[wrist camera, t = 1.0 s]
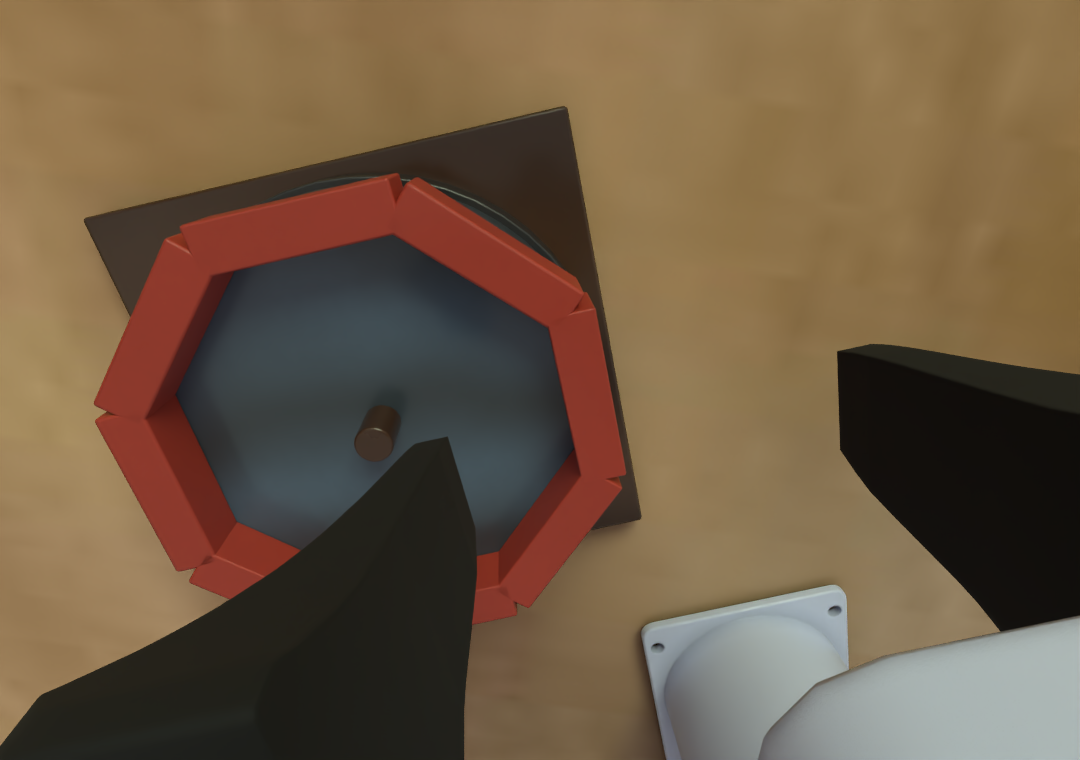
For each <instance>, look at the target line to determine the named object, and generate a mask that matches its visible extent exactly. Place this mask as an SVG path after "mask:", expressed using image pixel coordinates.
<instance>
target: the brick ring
mask: <svg viewBox="0 0 1080 760" xmlns="http://www.w3.org/2000/svg"><path fill="white" fill-rule="evenodd" d="M180 231H181V233H180V234H177V235H174V236H171V237H168V238H166V239H165V240H164V241H163V244H162V246H161V248H160V250H159V253H158V255H157V257H156V260H155V262H154V264H153V267H152V269H151V271H150V274H149V276H148V278H147V281H146V283H145V285H144V288H143V290H142V292H141V294H140V297H139V299H138V301H137V304H136V306H135V308H134V311H133V313H132V315H131V318H130V320H129V322H128V325H127V327H126V329H125V331H124V334H123V336H122V338H121V341H120V343H119V345H118V348H117V350H116V352H115V355H114V357H113V359H112V362H111V364H110V366H109V368H108V371H107V373H106V375H105V378H104V380H103V382H102V385H101V387H100V389H99V392H98V394H97V396H96V399H95V401H94V405H95V406H97V407H99V408H101V409H103V410H105V411H107V412H106V413H104V414H103V415H102V416H100V417H99V418H97V419H96V420H95V423H96V425H97V427H98V429H99V430H100V432H101V434H102V436H103V438H104V440H105V441H106V443H107V445H108V447H109V449H110V450H111V452H112V454H113V456H114V458H115V460H116V461H117V463H118V465H119V467H120V469H121V471H122V472H123V474H124V476H125V478H126V480H127V482H128V483H129V485H130V487H131V489H132V491H133V492H134V494H135V496H136V498H137V500H138V502H139V503H140V505H141V507H142V509H143V511H144V513H145V514H146V516H147V518H148V520H149V522H150V524H151V525H152V527H153V529H154V531H155V533H156V534H157V536H158V538H159V540H160V542H161V544H162V545H163V547H164V549H165V551H166V553H167V555H168V556H169V558H170V560H171V562H172V564H173V565H174V567H175V569H176V571H184V570H189V569H193V568H196V569H195V571H194V573H193V574H192V576H191V578H190V580H189V582H190V583H191V584H194V585H196V586H199V587H201V588H203V589H206V590H208V591H211V592H213V593H216V594H218V595H220V596H223V597H225V598H228V599H231V598H233V597H234V596H236V595H238V594H239V593H241V592H242V591H244V590H245V589H247V588H248V587H250V586H251V585H253V584H254V583H256V582H258V581H259V580H261V579H262V578H264V577H265V576H267V575H268V574H270V573H271V572H273V571H274V570H275V569H277V568H278V567H280V566H281V565H282V564H284V563H285V562H286V561H288V560H289V559H290V558H292V557H293V556H294V555H296V554H297V553H298V552H300V551H301V550H299V549H297V548H295V547H293V546H290V545H288V544H286V543H284V542H281V541H279V540H277V539H275V538H273V537H270V536H268V535H266V534H264V533H261V532H259V531H257V530H255V529H252V528H250V527H248V526H246V525H243V524H241V523H239V522H237V521H236V519H235V517H234V515H233V513H232V511H231V509H230V507H229V505H228V502H227V500H226V498H225V496H224V494H223V492H222V490H221V488H220V486H219V484H218V482H217V480H216V478H215V476H214V474H213V471H212V469H211V467H210V465H209V463H208V461H207V459H206V457H205V455H204V453H203V451H202V449H201V447H200V445H199V442H198V440H197V438H196V436H195V434H194V432H193V430H192V428H191V426H190V424H189V422H188V420H187V418H186V416H185V413H184V411H183V409H182V407H181V405H180V403H179V401H178V399H177V397H176V395H175V394H176V392H177V390H178V388H179V386H180V384H181V382H182V380H183V377H184V375H185V373H186V371H187V369H188V367H189V365H190V363H191V361H192V359H193V357H194V354H195V352H196V350H197V348H198V346H199V344H200V342H201V340H202V338H203V336H204V334H205V331H206V329H207V327H208V325H209V323H210V321H211V319H212V317H213V315H214V313H215V311H216V308H217V306H218V304H219V302H220V300H221V298H222V296H223V294H224V292H225V290H226V287H227V285H228V283H229V281H230V279H231V277H232V275H233V273H234V271H238V270H242V269H246V268H251V267H255V266H259V265H264V264H268V263H273V262H277V261H281V260H286V259H290V258H294V257H299V256H303V255H307V254H312V253H316V252H320V251H325V250H329V249H333V248H338V247H342V246H346V245H351V244H355V243H360V242H364V241H368V240H373V239H377V238H381V237H386V236H390V235H394V236H396V237H397V238H399V239H401V240H402V241H404V242H406V243H407V244H409V245H411V246H412V247H414V248H416V249H417V250H419V251H421V252H422V253H424V254H426V255H427V256H429V257H431V258H432V259H434V260H436V261H437V262H439V263H440V264H442V265H444V266H445V267H447V268H449V269H450V270H452V271H454V272H455V273H457V274H459V275H460V276H462V277H464V278H465V279H467V280H469V281H470V282H472V283H474V284H475V285H477V286H479V287H480V288H482V289H484V290H485V291H487V292H489V293H490V294H492V295H493V296H495V297H497V298H498V299H500V300H502V301H503V302H505V303H507V304H508V305H510V306H512V307H513V308H515V309H517V310H518V311H520V312H522V313H523V314H525V315H527V316H528V317H530V318H532V319H533V320H535V321H537V322H538V323H540V324H542V325H543V326H545V327H547V328H548V332H549V336H550V341H551V345H552V350H553V354H554V359H555V363H556V368H557V372H558V377H559V381H560V386H561V391H562V395H563V400H564V404H565V409H566V413H567V418H568V422H569V427H570V431H571V436H572V440H573V445H574V450H573V451H572V452H571V454H570V455H569V456H568V458H567V459H566V461H565V462H564V463H563V465H562V466H561V467H560V469H559V470H558V471H557V473H556V474H555V476H554V477H553V478H552V480H551V481H550V482H549V484H548V485H547V486H546V488H545V489H544V491H543V492H542V493H541V495H540V496H539V497H538V499H537V500H536V501H535V503H534V504H533V506H532V507H531V508H530V510H529V511H528V512H527V514H526V515H525V516H524V518H523V519H522V521H521V522H520V523H519V525H518V526H517V527H516V529H515V530H514V531H513V533H512V534H511V536H510V537H509V538H508V540H507V541H506V542H505V544H504V545H503V546H502V548H501V549H500V551H498V552H493V553H488V554H484V555H479V556H477V582H476V592H475V602H474V612H473V621H472V625H474V624H479V623H483V622H488V621H493V620H497V619H502V618H507V617H512V616H516V615H517V603H518V604H521V605H523V606H525V607H527V608H529V607H530V606H531V605H532V604H533V602H534V601H535V600H536V598H537V597H538V596H539V595H540V593H541V592H542V591H543V589H544V588H545V587H546V586H547V584H548V583H549V582H550V580H551V579H552V578H553V577H554V575H555V574H556V573H557V572H558V570H559V569H560V568H561V566H562V565H563V564H564V563H565V561H566V560H567V559H568V557H569V556H570V555H571V554H572V552H573V551H574V550H575V549H576V547H577V546H578V545H579V543H580V542H581V541H582V540H583V538H584V537H585V536H586V534H587V533H588V532H589V531H590V529H591V528H592V527H593V525H594V524H595V523H596V522H597V520H598V519H599V518H600V517H601V515H602V514H603V513H604V511H605V510H606V509H607V508H608V506H609V505H610V504H611V502H612V501H613V500H614V499H615V497H616V496H617V495H618V493H619V492H620V491H621V490H622V486H621V483H620V480H619V476H623V475H626V469H625V463H624V458H623V452H622V447H621V442H620V436H619V431H618V426H617V420H616V415H615V410H614V404H613V399H612V394H611V388H610V383H609V378H608V372H607V367H606V362H605V356H604V351H603V346H602V340H601V335H600V330H599V324H598V319H597V314H596V309H595V307H594V305H593V303H592V301H591V299H590V297H589V295H588V293H587V292H583V290H582V288H581V286H580V284H579V282H578V280H577V278H576V277H574V276H573V275H571V274H570V273H568V272H567V271H565V270H563V269H562V268H560V267H559V266H557V265H556V264H554V263H552V262H551V261H549V260H548V259H546V258H545V257H543V256H541V255H540V254H538V253H537V252H535V251H534V250H532V249H530V248H529V247H527V246H526V245H524V244H523V243H521V242H519V241H518V240H516V239H515V238H513V237H512V236H510V235H508V234H507V233H505V232H504V231H502V230H501V229H499V228H497V227H496V226H494V225H493V224H491V223H490V222H488V221H486V220H485V219H483V218H482V217H480V216H479V215H477V214H475V213H474V212H472V211H471V210H469V209H468V208H466V207H464V206H463V205H461V204H460V203H458V202H457V201H455V200H453V199H452V198H450V197H449V196H447V195H446V194H444V193H442V192H441V191H439V190H438V189H436V188H435V187H433V186H431V185H430V184H428V183H427V182H425V181H424V180H422V179H420V178H418V177H416V178H414V179H412V180H411V181H409V182H408V183H406V184H405V186H404V188H403V186H402V182H401V179H400V175H399V174H398V173H393V174H389V175H384V176H380V177H376V178H371V179H367V180H363V181H358V182H354V183H350V184H346V185H341V186H337V187H333V188H328V189H324V190H320V191H315V192H311V193H307V194H303V195H298V196H294V197H290V198H285V199H281V200H277V201H272V202H268V203H264V204H260V205H255V206H251V207H247V208H242V209H238V210H234V211H229V212H225V213H221V214H217V215H212V216H209V217H205V218H202V219H199V220H196V221H193V222H189V223H186V224H183V225H181V226H180Z"/></svg>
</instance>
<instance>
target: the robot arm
mask: <svg viewBox="0 0 1080 760" xmlns="http://www.w3.org/2000/svg"><path fill="white" fill-rule="evenodd" d="M837 360H838V392H839V425H840V450H841V452H842V453H843V455H844V456H845V457H846V459H847V460H848V462H849V463H850V465H851V466H852V468H853V469H854V471H855V472H856V473H857V475H858V476H859V477H860V479H861V480H862V481H863V483H864V484H865V485H866V487H867V488H868V489H869V491H870V492H871V493H872V494H873V495H874V496H875V497H876V498H877V499H878V500H879V501H880V502H881V503H882V505H883V506H884V507H885V508H886V509H887V510H888V511H889V512H890V513H891V514H892V515H893V516H894V517H895V518H896V519H897V520H898V521H899V522H900V523H901V524H902V525H903V526H904V527H905V528H906V529H907V530H908V531H909V532H910V533H911V534H912V535H913V536H914V537H915V538H916V539H917V540H918V541H919V542H920V543H921V544H922V545H923V546H924V547H925V548H926V549H927V550H928V551H929V552H930V553H931V554H932V555H933V556H934V557H935V558H936V559H937V560H938V561H939V562H940V564H941V565H942V566H943V567H944V568H945V569H946V570H947V571H948V572H949V573H950V574H951V575H952V576H953V577H954V578H955V579H956V580H957V581H958V582H959V583H960V584H961V585H962V586H963V587H964V588H965V589H966V591H967V592H968V593H969V594H970V595H971V596H972V597H973V598H974V599H975V600H976V602H977V603H978V604H979V605H980V606H981V608H982V609H983V610H984V611H985V613H986V614H987V615H988V616H989V618H990V619H991V620H992V621H993V623H994V624H995V625H996V626H997V628H998V629H999V630H1000V631H1001V632H997V633H992V634H987V635H982V636H978V637H973V638H968V639H963V640H958V641H953V642H948V643H943V644H939V645H934V646H929V647H924V648H919V649H914V650H909V651H904V652H900V653H895V654H890V655H885V656H882V657H879V658H877V659H874V660H872V661H869V662H867V663H864V664H862V665H859V666H857V667H854V668H852V669H849V662H848V631H847V600H846V595H845V593H844V592H843V590H842V589H841V588H840V587H839V586H837V585H827V586H822V587H818V588H813V589H808V590H804V591H799V592H794V593H789V594H785V595H780V596H775V597H770V598H766V599H761V600H756V601H751V602H747V603H742V604H737V605H732V606H728V607H723V608H718V609H713V610H709V611H704V612H699V613H694V614H690V615H685V616H680V617H675V618H671V619H666V620H661V621H656V622H652V623H649V624H647V625H646V626H644V627H643V629H642V631H641V637H642V642H643V647H644V652H645V657H646V662H647V667H648V672H649V677H650V682H651V687H652V692H653V697H654V702H655V707H656V712H657V717H658V722H659V727H660V732H661V737H662V742H663V747H664V752H665V757H666V760H1080V375H1079V374H1070V373H1063V372H1056V371H1049V370H1042V369H1034V368H1027V367H1021V366H1014V365H1008V364H1002V363H996V362H990V361H984V360H978V359H973V358H967V357H961V356H956V355H950V354H945V353H939V352H933V351H927V350H922V349H916V348H909V347H902V346H894V345H884V344H869V345H865V346H860V347H855V348H851V349H846V350H842V351H837ZM476 582H477V550H476V528H475V525H474V521H473V518H472V515H471V511H470V508H469V505H468V502H467V498H466V495H465V492H464V488H463V485H462V482H461V478H460V475H459V472H458V469H457V465H456V462H455V459H454V455H453V452H452V449H451V446H450V442H449V439H448V436H447V437H443V438H438V439H433V440H429V441H424V442H420V443H415V444H414V445H413V446H412V447H410V448H409V449H408V450H407V451H406V452H405V453H404V454H403V455H402V456H401V457H400V458H399V459H398V460H397V461H396V462H395V463H394V464H393V465H392V466H391V467H390V468H389V469H388V470H387V471H386V472H385V473H384V474H383V475H382V476H381V477H380V479H379V480H378V481H377V482H376V483H375V484H374V485H373V486H372V487H371V488H370V489H369V490H368V491H367V492H366V493H365V494H364V495H363V496H362V497H361V498H360V499H359V500H358V501H357V502H356V503H354V504H353V505H352V506H351V507H350V508H349V509H348V510H347V511H346V512H345V513H344V514H343V515H342V516H340V517H339V518H338V519H337V520H336V521H335V522H334V523H333V524H332V525H331V526H330V527H329V528H327V529H326V530H325V531H324V532H323V533H322V534H321V535H319V536H318V537H317V538H316V539H315V540H313V541H312V542H311V543H310V544H308V545H307V546H306V547H305V548H303V549H302V550H301V551H300V552H298V553H297V554H296V555H294V556H293V557H292V558H290V559H289V560H288V561H286V562H285V563H284V564H282V565H281V566H280V567H278V568H277V569H275V570H274V571H273V572H271V573H270V574H268V575H267V576H265V577H264V578H262V579H261V580H259V581H258V582H256V583H254V584H253V585H251V586H250V587H248V588H247V589H245V590H244V591H242V592H241V593H239V594H238V595H236V596H234V597H233V598H231V599H230V600H228V601H227V602H225V603H224V604H222V605H221V606H219V607H217V608H215V609H214V610H212V611H210V612H209V613H207V614H205V615H203V616H202V617H200V618H198V619H196V620H195V621H193V622H191V623H189V624H188V625H186V626H184V627H182V628H180V629H178V630H176V631H175V632H173V633H171V634H169V635H167V636H165V637H163V638H161V639H160V640H158V641H156V642H154V643H152V644H150V645H148V646H146V647H144V648H142V649H140V650H138V651H136V652H134V653H132V654H130V655H128V656H126V657H124V658H121V659H119V660H117V661H115V662H113V663H111V664H108V665H106V666H104V667H102V668H100V669H98V670H95V671H93V672H91V673H89V674H87V675H85V676H82V677H80V678H78V679H76V680H74V681H72V682H69V683H67V684H65V685H63V686H61V687H58V688H56V689H54V690H51V691H49V692H47V693H44V694H42V695H41V696H40V697H39V698H38V699H37V700H36V701H35V702H34V704H33V705H32V706H31V708H30V709H29V710H28V711H27V713H26V714H25V715H24V716H23V718H22V719H21V720H20V722H19V723H18V724H17V725H16V727H15V728H14V729H13V730H12V732H11V733H10V734H9V736H8V737H7V738H6V739H5V741H4V742H3V743H2V744H1V746H0V760H464V704H465V688H466V677H467V667H468V658H469V649H470V640H471V630H472V621H473V612H474V602H475V592H476ZM833 606H834V607H833ZM831 607H833V608H831ZM830 608H831V609H830ZM656 643H660V644H659V645H656V646H652V645H654V644H656Z"/></svg>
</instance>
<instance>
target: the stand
mask: <svg viewBox="0 0 1080 760" xmlns="http://www.w3.org/2000/svg"><path fill="white" fill-rule="evenodd" d="M393 173H398V174H399V175H400V179H401V182H402V186H403V188H404V186H405V184H406V183H408V182H409V181H411V180H412V179H414V178H416V177H418V178H420V179H422V180H424V181H425V182H427V183H428V184H430V185H431V186H433V187H435V188H436V189H438V190H439V191H441V192H442V193H444V194H446V195H447V196H449V197H450V198H452V199H453V200H455V201H457V202H458V203H460V204H461V205H463V206H464V207H466V208H468V209H469V210H471V211H472V212H474V213H475V214H477V215H479V216H480V217H482V218H483V219H485V220H486V221H488V222H490V223H491V224H493V225H494V226H496V227H497V228H499V229H501V230H502V231H504V232H505V233H507V234H508V235H510V236H512V237H513V238H515V239H516V240H518V241H519V242H521V243H523V244H524V245H526V246H527V247H529V248H530V249H532V250H534V251H535V252H537V253H538V254H540V255H541V256H543V257H545V258H546V259H548V260H549V261H551V262H552V263H554V264H556V265H557V266H559V267H560V268H562V269H563V270H565V271H567V272H568V273H570V274H571V275H573V276H574V277H576V278H577V280H578V282H579V284H580V286H581V288H582V290H583V292H587V293H588V295H589V297H590V299H591V301H592V303H593V305H594V307H595V309H596V314H597V319H598V324H599V330H600V335H601V340H602V346H603V351H604V356H605V362H606V367H607V372H608V378H609V383H610V388H611V394H612V399H613V404H614V410H615V415H616V420H617V426H618V431H619V436H620V442H621V447H622V452H623V458H624V463H625V469H626V475H623V476H619V480H620V483H621V486H622V490H621V491H620V492H619V493H618V495H617V496H616V497H615V499H614V500H613V501H612V502H611V504H610V505H609V506H608V508H607V509H606V510H605V511H604V513H603V514H602V515H601V517H600V518H599V519H598V520H597V522H596V523H595V524H594V525H593V527H592V528H591V529H590V530H594V529H598V528H603V527H607V526H612V525H617V524H621V523H626V522H631V521H635V520H640V519H641V517H642V516H641V511H640V505H639V500H638V494H637V489H636V483H635V478H634V472H633V467H632V461H631V456H630V450H629V445H628V439H627V434H626V428H625V423H624V417H623V412H622V406H621V401H620V395H619V390H618V384H617V379H616V373H615V368H614V362H613V357H612V351H611V346H610V340H609V335H608V329H607V324H606V318H605V313H604V307H603V302H602V296H601V291H600V285H599V280H598V274H597V269H596V263H595V258H594V252H593V247H592V241H591V236H590V230H589V225H588V219H587V214H586V208H585V203H584V197H583V192H582V186H581V181H580V175H579V170H578V164H577V159H576V153H575V148H574V142H573V137H572V131H571V126H570V120H569V115H568V109H567V107H565V106H562V107H557V108H553V109H549V110H545V111H540V112H536V113H532V114H528V115H523V116H519V117H515V118H510V119H506V120H502V121H498V122H493V123H489V124H485V125H480V126H476V127H472V128H468V129H463V130H459V131H455V132H450V133H446V134H442V135H438V136H433V137H429V138H425V139H421V140H416V141H412V142H408V143H403V144H399V145H395V146H391V147H386V148H382V149H378V150H373V151H369V152H365V153H361V154H356V155H352V156H348V157H343V158H339V159H335V160H331V161H326V162H322V163H318V164H314V165H309V166H305V167H301V168H296V169H292V170H288V171H284V172H279V173H275V174H271V175H266V176H262V177H258V178H254V179H249V180H245V181H241V182H236V183H232V184H228V185H224V186H219V187H215V188H211V189H207V190H202V191H198V192H194V193H189V194H185V195H181V196H177V197H172V198H168V199H164V200H159V201H155V202H151V203H147V204H142V205H138V206H134V207H129V208H125V209H121V210H117V211H112V212H108V213H104V214H100V215H95V216H91V217H87V218H85V219H84V223H85V225H86V227H87V229H88V231H89V233H90V235H91V237H92V239H93V241H94V243H95V245H96V247H97V249H98V251H99V253H100V256H101V258H102V260H103V262H104V264H105V266H106V268H107V270H108V272H109V274H110V276H111V278H112V280H113V282H114V284H115V286H116V288H117V290H118V292H119V294H120V297H121V299H122V301H123V303H124V305H125V307H126V309H127V311H128V313H129V315H130V317H131V315H132V313H133V311H134V308H135V306H136V304H137V301H138V299H139V297H140V294H141V292H142V290H143V288H144V285H145V283H146V281H147V278H148V276H149V274H150V271H151V269H152V267H153V264H154V262H155V260H156V257H157V255H158V253H159V250H160V248H161V246H162V244H163V241H164V240H165V239H166V238H168V237H171V236H174V235H177V234H180V233H181V231H180V226H181V225H183V224H186V223H189V222H193V221H196V220H199V219H202V218H205V217H209V216H212V215H217V214H221V213H225V212H229V211H234V210H238V209H242V208H247V207H251V206H255V205H260V204H264V203H268V202H272V201H277V200H281V199H285V198H290V197H294V196H298V195H303V194H307V193H311V192H315V191H320V190H324V189H328V188H333V187H337V186H341V185H346V184H350V183H354V182H358V181H363V180H367V179H371V178H376V177H380V176H384V175H389V174H393ZM175 395H176V397H177V399H178V401H179V403H180V405H181V407H182V409H183V411H184V413H185V416H186V418H187V420H188V422H189V424H190V426H191V428H192V430H193V432H194V434H195V436H196V438H197V440H198V442H199V445H200V447H201V449H202V451H203V453H204V455H205V457H206V459H207V461H208V463H209V465H210V467H211V469H212V471H213V474H214V476H215V478H216V480H217V482H218V484H219V486H220V488H221V490H222V492H223V494H224V496H225V498H226V500H227V502H228V505H229V507H230V509H231V511H232V513H233V515H234V517H235V519H236V521H237V522H239V523H241V524H243V525H246V526H248V527H250V528H252V529H255V530H257V531H259V532H261V533H264V534H266V535H268V536H270V537H273V538H275V539H277V540H279V541H281V542H284V543H286V544H288V545H290V546H293V547H295V548H297V549H299V550H302V549H303V548H305V547H306V546H307V545H308V544H310V543H311V542H312V541H313V540H315V539H316V538H317V537H318V536H319V535H321V534H322V533H323V532H324V531H325V530H326V529H327V528H329V527H330V526H331V525H332V524H333V523H334V522H335V521H336V520H337V519H338V518H339V517H340V516H342V515H343V514H344V513H345V512H346V511H347V510H348V509H349V508H350V507H351V506H352V505H353V504H354V503H356V502H357V501H358V500H359V499H360V498H361V497H362V496H363V495H364V494H365V493H366V492H367V491H368V490H369V489H370V488H371V487H372V486H373V485H374V484H375V483H376V482H377V481H378V480H379V479H380V477H381V476H382V475H383V474H384V473H385V472H386V471H387V470H388V469H389V468H390V467H391V466H392V465H393V464H394V463H395V462H396V461H397V460H398V459H399V458H400V457H401V456H402V455H403V454H404V453H405V452H406V451H407V450H408V449H409V448H410V447H412V446H413V445H414V444H415V443H420V442H424V441H429V440H433V439H438V438H443V437H447V436H448V439H449V442H450V446H451V449H452V452H453V455H454V459H455V462H456V465H457V469H458V472H459V475H460V478H461V482H462V485H463V488H464V492H465V495H466V498H467V502H468V505H469V508H470V511H471V515H472V518H473V521H474V525H475V528H476V550H477V556H479V555H484V554H488V553H493V552H498V551H500V549H501V548H502V546H503V545H504V544H505V542H506V541H507V540H508V538H509V537H510V536H511V534H512V533H513V531H514V530H515V529H516V527H517V526H518V525H519V523H520V522H521V521H522V519H523V518H524V516H525V515H526V514H527V512H528V511H529V510H530V508H531V507H532V506H533V504H534V503H535V501H536V500H537V499H538V497H539V496H540V495H541V493H542V492H543V491H544V489H545V488H546V486H547V485H548V484H549V482H550V481H551V480H552V478H553V477H554V476H555V474H556V473H557V471H558V470H559V469H560V467H561V466H562V465H563V463H564V462H565V461H566V459H567V458H568V456H569V455H570V454H571V452H572V451H573V450H574V445H573V440H572V436H571V431H570V427H569V422H568V418H567V413H566V409H565V404H564V400H563V395H562V391H561V386H560V381H559V377H558V372H557V368H556V363H555V359H554V354H553V350H552V345H551V341H550V336H549V332H548V328H547V327H545V326H543V325H542V324H540V323H538V322H537V321H535V320H533V319H532V318H530V317H528V316H527V315H525V314H523V313H522V312H520V311H518V310H517V309H515V308H513V307H512V306H510V305H508V304H507V303H505V302H503V301H502V300H500V299H498V298H497V297H495V296H493V295H492V294H490V293H489V292H487V291H485V290H484V289H482V288H480V287H479V286H477V285H475V284H474V283H472V282H470V281H469V280H467V279H465V278H464V277H462V276H460V275H459V274H457V273H455V272H454V271H452V270H450V269H449V268H447V267H445V266H444V265H442V264H440V263H439V262H437V261H436V260H434V259H432V258H431V257H429V256H427V255H426V254H424V253H422V252H421V251H419V250H417V249H416V248H414V247H412V246H411V245H409V244H407V243H406V242H404V241H402V240H401V239H399V238H397V237H396V236H394V235H390V236H386V237H381V238H377V239H373V240H368V241H364V242H360V243H355V244H351V245H346V246H342V247H338V248H333V249H329V250H325V251H320V252H316V253H312V254H307V255H303V256H299V257H294V258H290V259H286V260H281V261H277V262H273V263H268V264H264V265H259V266H255V267H251V268H246V269H242V270H238V271H234V273H233V275H232V277H231V279H230V281H229V283H228V285H227V287H226V290H225V292H224V294H223V296H222V298H221V300H220V302H219V304H218V306H217V308H216V311H215V313H214V315H213V317H212V319H211V321H210V323H209V325H208V327H207V329H206V331H205V334H204V336H203V338H202V340H201V342H200V344H199V346H198V348H197V350H196V352H195V354H194V357H193V359H192V361H191V363H190V365H189V367H188V369H187V371H186V373H185V375H184V377H183V380H182V382H181V384H180V386H179V388H178V390H177V392H176V394H175Z"/></svg>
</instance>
